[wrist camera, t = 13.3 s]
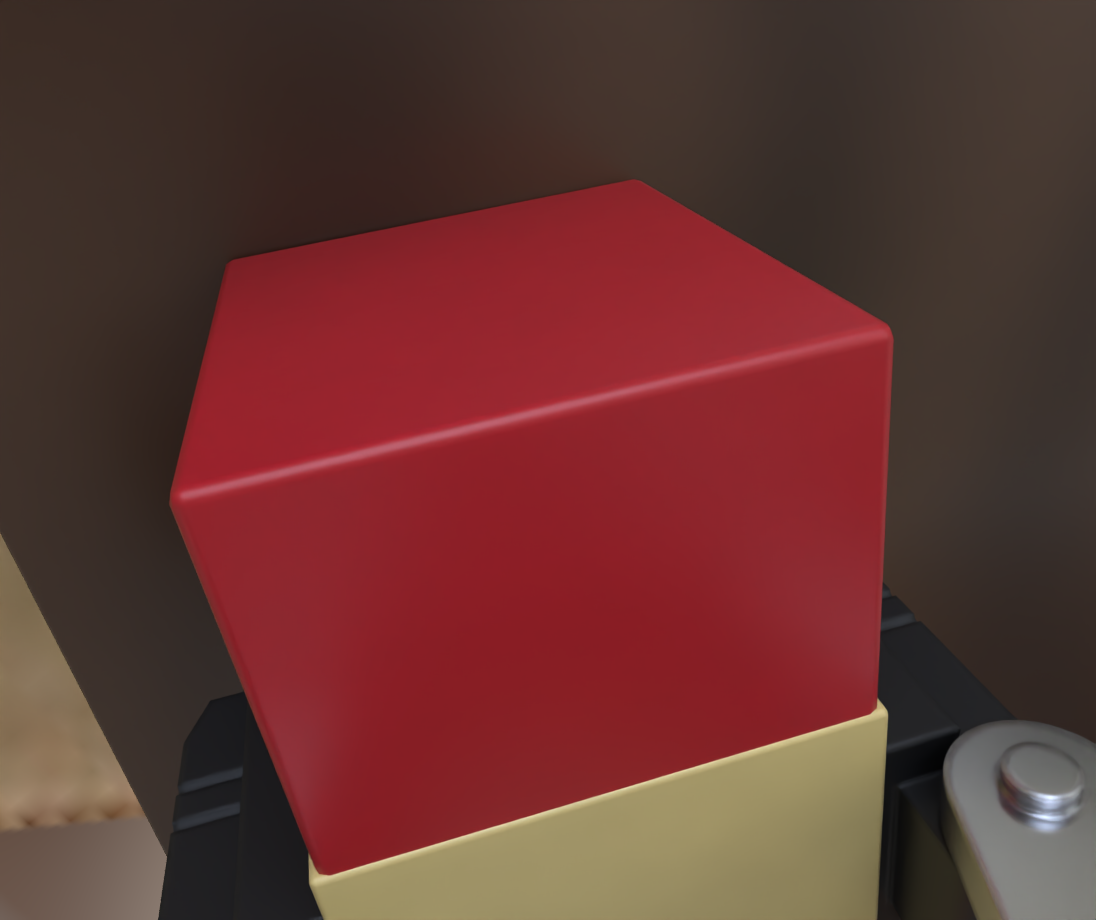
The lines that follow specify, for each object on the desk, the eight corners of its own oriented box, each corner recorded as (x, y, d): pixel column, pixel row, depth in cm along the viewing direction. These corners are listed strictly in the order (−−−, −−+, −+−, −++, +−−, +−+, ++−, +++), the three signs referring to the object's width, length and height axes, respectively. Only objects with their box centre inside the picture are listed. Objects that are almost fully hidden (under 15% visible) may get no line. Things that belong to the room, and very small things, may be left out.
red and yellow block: (419, 890, 13) (475, 1293, 9) (217, 259, 8) (149, 503, 5) (698, 805, 13) (867, 1149, 9) (643, 173, 9) (914, 323, 5)
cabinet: (919, -149, 17) (1475, -263, 9) (889, 498, 24) (1190, 759, 16) (32, -10, 15) (-277, 1, 7) (278, 658, 22) (268, 1058, 14)
